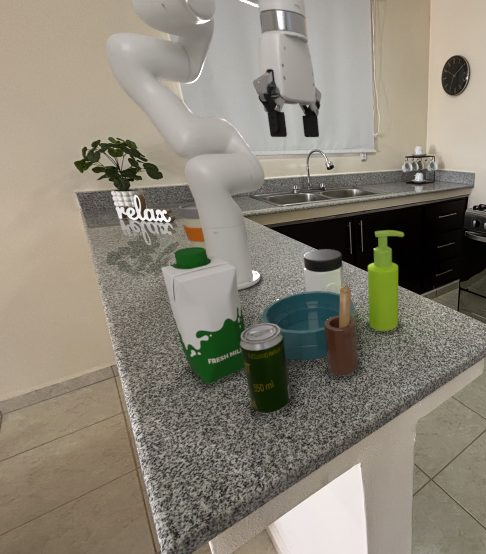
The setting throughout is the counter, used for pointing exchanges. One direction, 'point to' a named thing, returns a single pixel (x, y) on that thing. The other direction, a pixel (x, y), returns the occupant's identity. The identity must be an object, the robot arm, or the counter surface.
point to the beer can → (265, 367)
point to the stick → (344, 306)
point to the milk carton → (206, 312)
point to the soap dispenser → (383, 285)
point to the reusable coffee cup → (192, 224)
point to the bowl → (304, 321)
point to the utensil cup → (341, 346)
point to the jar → (323, 271)
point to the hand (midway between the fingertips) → (296, 137)
